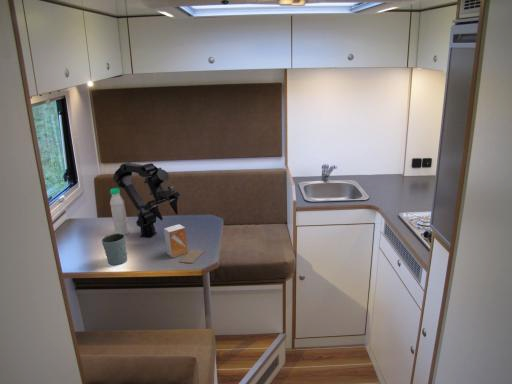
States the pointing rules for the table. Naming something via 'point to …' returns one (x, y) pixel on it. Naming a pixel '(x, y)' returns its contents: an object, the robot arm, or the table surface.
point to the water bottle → (118, 212)
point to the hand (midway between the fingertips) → (169, 216)
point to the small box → (175, 240)
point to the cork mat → (191, 256)
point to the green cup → (115, 248)
